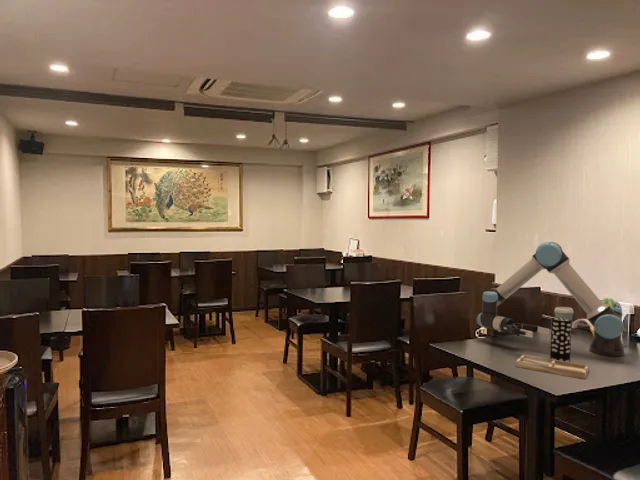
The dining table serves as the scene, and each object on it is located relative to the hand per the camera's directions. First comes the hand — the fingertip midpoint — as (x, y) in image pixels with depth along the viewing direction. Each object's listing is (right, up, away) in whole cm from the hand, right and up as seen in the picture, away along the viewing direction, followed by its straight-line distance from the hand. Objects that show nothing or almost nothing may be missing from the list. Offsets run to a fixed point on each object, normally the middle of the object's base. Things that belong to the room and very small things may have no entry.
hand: (541, 333), depth 229 cm
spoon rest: (+58, -11, +59) cm, 83 cm away
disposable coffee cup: (+38, -11, +54) cm, 67 cm away
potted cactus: (+48, -12, +29) cm, 57 cm away
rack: (-4, -12, -19) cm, 23 cm away
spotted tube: (+5, -12, -8) cm, 15 cm away
